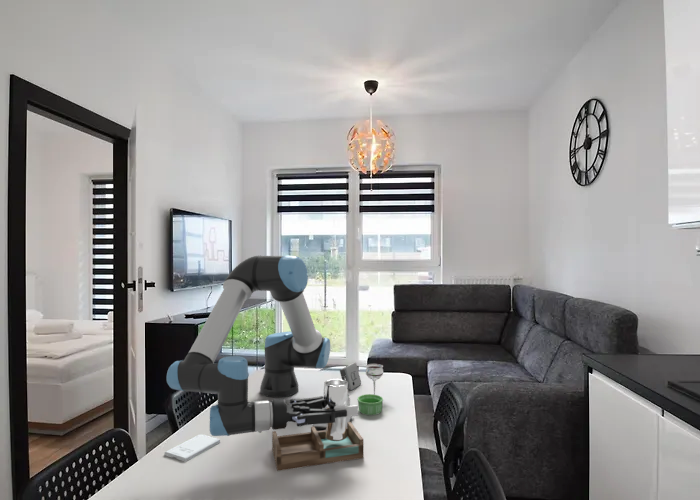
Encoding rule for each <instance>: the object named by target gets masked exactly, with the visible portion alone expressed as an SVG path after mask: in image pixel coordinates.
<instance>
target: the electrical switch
mask: <svg viewBox="0 0 700 500" xmlns="http://www.w3.org/2000/svg"><path fill="white" fill-rule="evenodd" d="M339 373H340V376H341V378H340V379H342V380H345V381H347V382H348V390H349V391H352V390H354V389H355V388H357V387H359V386H360V385H362V379H361V376H360V373H359V368H358V364H357V362H352V363H350V364H349V365H346V366H345V367H343V368H341V369H339Z"/></svg>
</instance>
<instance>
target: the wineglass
mask: <svg viewBox="0 0 700 500" xmlns="http://www.w3.org/2000/svg"><path fill="white" fill-rule="evenodd" d="M383 367H384V365H383V364H379V363H369V364H366V365H365V368H366V369H365V375H366V376H367V377H368V379H370V380H371V381H372V382H373V383H372V384H373V394H374V395H376V382H377V380H379V379H381V378H382V376H383V375H384V369H383Z"/></svg>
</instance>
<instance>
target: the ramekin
mask: <svg viewBox="0 0 700 500" xmlns="http://www.w3.org/2000/svg"><path fill="white" fill-rule="evenodd" d="M356 400H357V404H358V405H357V406H358V412H359V413H361V414H363V415H367V416H374V415H375V416H376V415H378V414H380V413H381V412H382V409H383V402H384V398H383V397H382V396H380V395H378V394H375V395H374V393H372V394H370V393H369V394H368V393H367V394H362V395H359V396H357V399H356Z"/></svg>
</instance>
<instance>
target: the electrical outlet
mask: <svg viewBox="0 0 700 500" xmlns="http://www.w3.org/2000/svg"><path fill="white" fill-rule="evenodd" d="M351 419H352V417H346V423H345V424H346V427H347V422H351ZM313 426H314V427H315V429H322V430H326V427H327V423H323V424H312V427H313Z"/></svg>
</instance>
